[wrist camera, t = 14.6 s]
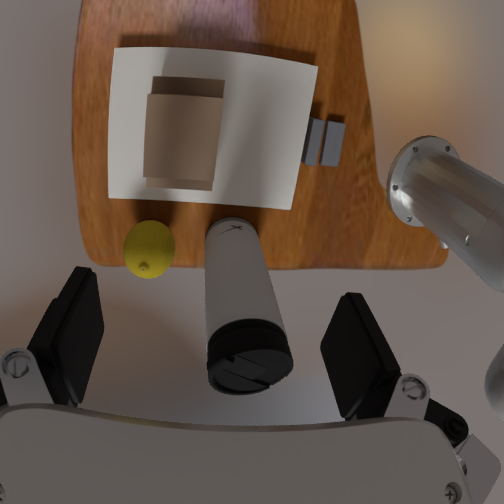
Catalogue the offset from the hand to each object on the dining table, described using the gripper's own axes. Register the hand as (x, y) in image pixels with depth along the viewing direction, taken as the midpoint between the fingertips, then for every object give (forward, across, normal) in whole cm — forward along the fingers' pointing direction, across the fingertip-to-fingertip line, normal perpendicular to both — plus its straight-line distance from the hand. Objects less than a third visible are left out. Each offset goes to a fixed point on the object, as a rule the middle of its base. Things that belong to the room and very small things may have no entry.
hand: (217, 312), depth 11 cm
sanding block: (+22, +4, -3) cm, 23 cm away
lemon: (+24, +6, +10) cm, 27 cm away
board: (+24, +2, -3) cm, 24 cm away
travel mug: (+24, -2, +10) cm, 27 cm away
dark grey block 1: (+24, -10, -3) cm, 26 cm away
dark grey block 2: (+24, -12, -3) cm, 27 cm away
